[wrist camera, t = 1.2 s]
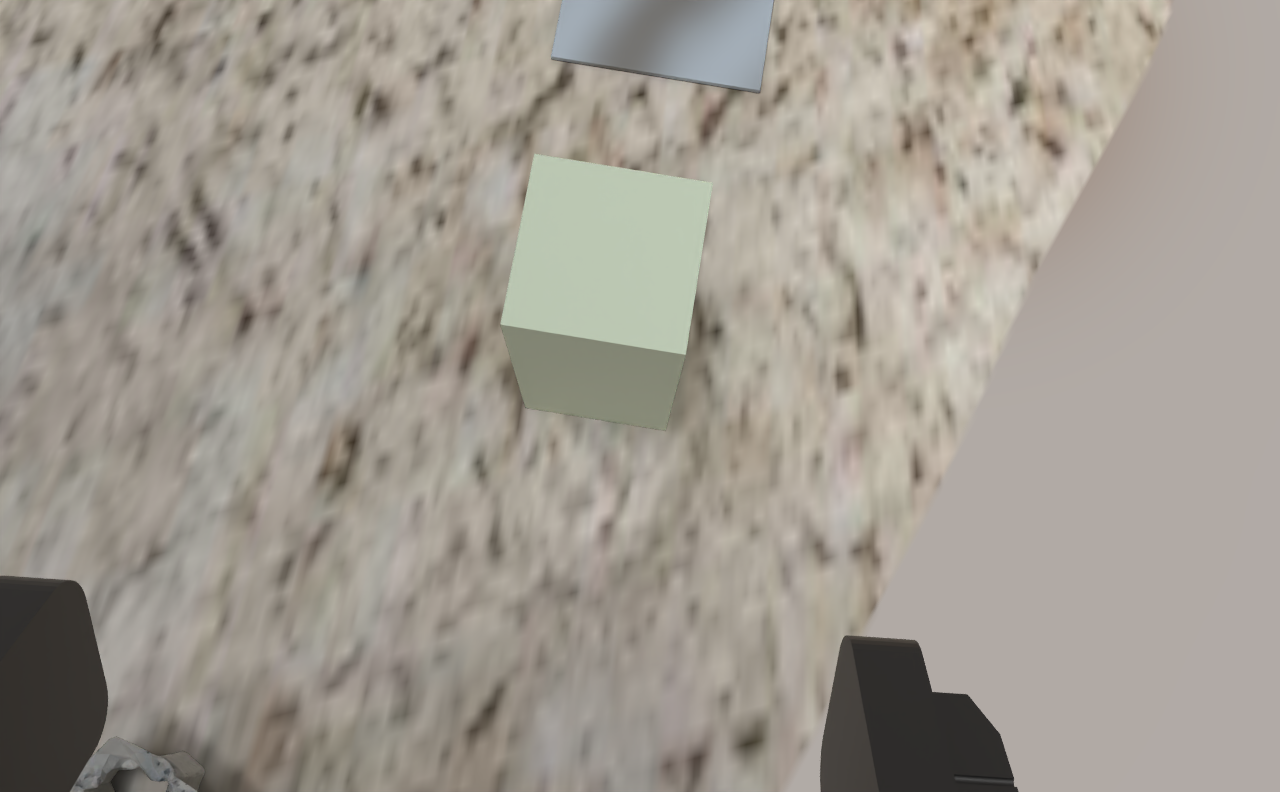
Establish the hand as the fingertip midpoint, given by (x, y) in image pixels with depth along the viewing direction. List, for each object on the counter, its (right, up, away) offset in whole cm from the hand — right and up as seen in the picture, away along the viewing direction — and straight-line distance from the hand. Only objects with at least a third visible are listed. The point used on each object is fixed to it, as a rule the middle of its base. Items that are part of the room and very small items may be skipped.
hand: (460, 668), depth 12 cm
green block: (+1, +4, +28) cm, 29 cm away
